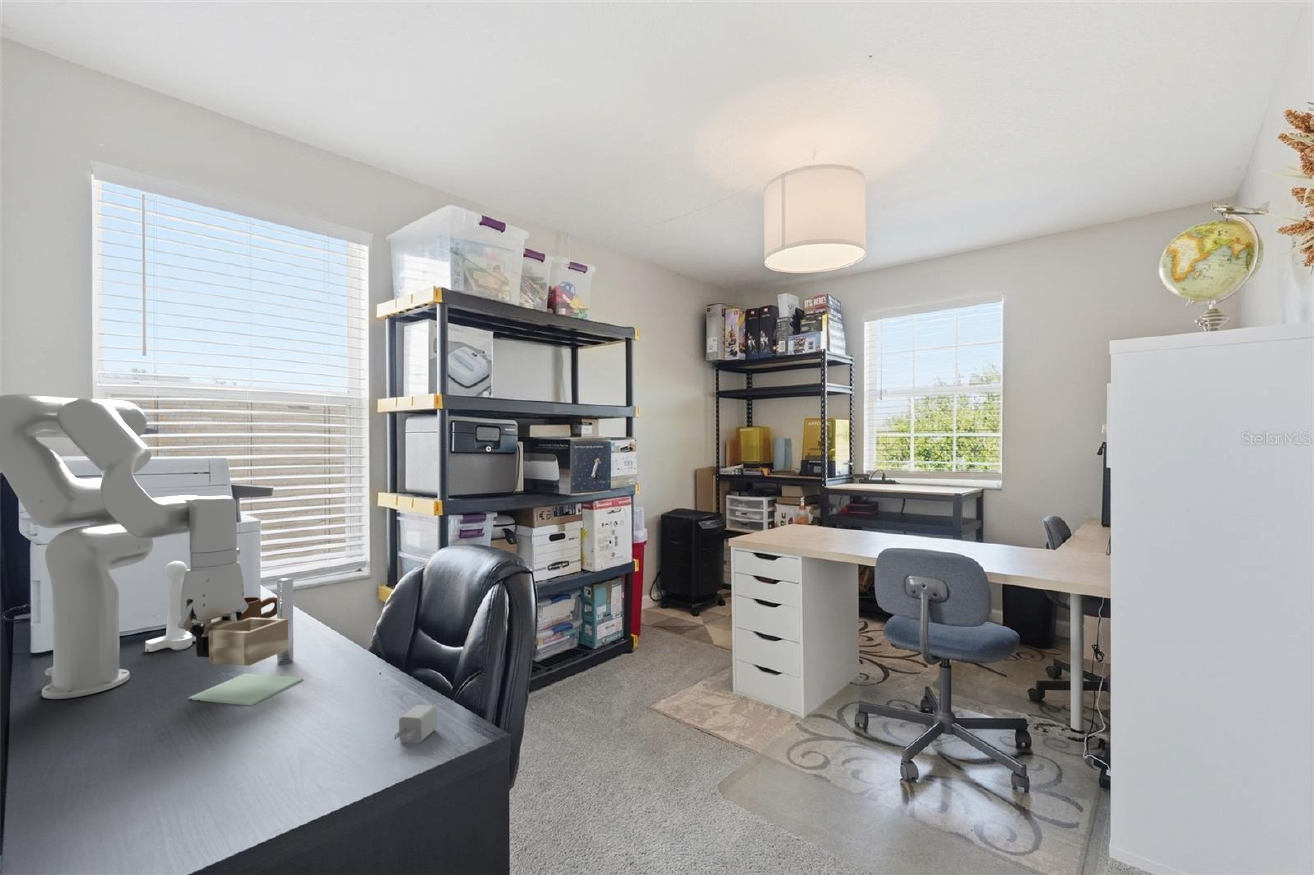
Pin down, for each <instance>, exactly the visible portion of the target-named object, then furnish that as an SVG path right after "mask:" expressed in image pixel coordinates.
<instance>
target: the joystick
mask: <svg viewBox="0 0 1314 875" xmlns="http://www.w3.org/2000/svg"><path fill="white" fill-rule="evenodd" d="M186 570H188V566H187V564H186V563H185V562H183V561H181V560H173V561H170V562H169V563H167V564H166V565H165V566H164V569H163V575H164V576H165V578H166V579H168V582H169V585H168V600H167V617H166V628H165V629H166V633H165V635H163V636H159V637H155V638H152V639H148V640H145V644H144V645H145V652H146V653H149V652H151V653H152V652H155V651H158V650H163V649H165V648H166V649H167V648H170V649H172V650H174V651H180V650H181V651H182V650H185V649H188V648H190V646H192V645H193V642H196V637H194V636H192V634H191V633H190V632H188V631H187V630H184V629H181V628H179V627H178V624H179V622H180V620H181V593H182V585H183V580H184V576H185V572H186Z"/></svg>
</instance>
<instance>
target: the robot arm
mask: <svg viewBox="0 0 1314 875" xmlns="http://www.w3.org/2000/svg"><path fill="white" fill-rule="evenodd" d="M147 422H148V421H147V417H146V414H145V413H144V412H143V410H142V409H141V408H140V407H138V405H136V404H134V403H132V402H130V401H125V400H120V399H119V400H116V399H106V398H105V399H102V398H93V397H92V398H91V397H90V398H79V397H71V396H70V397H69V396H53V395H42V394H27V393H14V394H4V395H0V473H2V474H3V476H4V477H5V479H6V481H7V482H8V484H9V486H10V487H11V489H12V490H13V492H14V494H15V495H16V497H17V499H18V501H20V503H21V505H22V506H23V508H24V510H25V511H26V513H27V514H28V515H29V517H30V519H31V520H32V521H33V522H34V524H36V525H38V526H39V527H42V528H44V529H61V528H62V529H63V528H70V529H68V530H64V531H61V532H60V533H58V534H57V535H55V536H54V537H53V538H52V539H51V540H50V541H49V542H48V543H47V546H46V548H45V552H44V557H45V563H46V567H47V568H46V569H47V571H48V574H49V578H50V583H51V590H52V591H51V592H52V613H53V614H52V616H53V618H52V620H53V622H52V623H53V624H52V629H53V633H52V634H53V638H52V639H53V643H52V644H53V645H52V646H53V650H52V651H53V652H52V654H53V656H52V658H53V660H52V661H53V666H51V667H48V668H47V669H45V670H44V675H46V676H51V683H49V684H47V685H45V686H44V687H43V688H42V689H41V697H42V698H44V699H49V700H62V699H65V700H66V699H73V698H80V697H84V696H89V695H93V694H97V693H101V692H105V691H107V690H110V689H113V688H114V689H115V688H117V687H118V686H121V685H123V684H124V683H126V682H127V681H128V680H129V679H130V675H131V674H130V671H129V670H128V669H124V668H120V593H119V588H118V585H117V584H116V582H115V580H114V578H113V577H112V576H111V575H110V572H109V571H111V570H114V569H120V568H124V567H128V566H132V565H135V564H137V563H140V562H142V561H144V560H145V559H147V557H149V555H150V554H151V552H152V551H153V550H152V549H153V547H154V546H153V545H154V539H157V538H163V537H168V536H173V535H174V536H175V535H180V534H186V533H189V569H188V568H187V570H186V572H185V576H184V577H183V579H182V593H181V620H180V622H179V624H178V627H179V628H181V629H184V630H186V631H188V632H190V633H191V634H192V636H194V637H196V641H195V656H196V655H197V656H198V657H197V658H208V657H209V631H210V626H211V621H212V620H216V619H217V618H219V620H229V621H238V620H239V619H240V617H241V616H242V614H243V613H244V612H245V611H246V610H247V609H248V607H249V605H248V604H247V602H246V601H245V600H244V598H245V585H244V577H243V571H242V567H241V563H240V562H239V561H238V556H239V555H240V553H241V550H240V549H239V548H238V535H237V534H238V532H237V531H238V530H237V529H238V528H237V526H238V525H237V503H236V499H235V498H234V497H232V495H231V496H229V495H210V496H208V495H207V496H199V495H191V494H184V495H171V496H163V497H162V496H161V497H153V498H152V497H151V496H150V495H149V494H148V492H146V491H145V489H144V488H142V486H141V485H140V484H139V483H138V481H137V479H136V478H135V474H137V472H139V471H141V470H142V469H143V468H145V466H147V464H148V463H149V462H150V461H151V458H152V452H151V449H150V448H149V447H148V446H147V444H145V442H143V440H141V438H140V437H141V435H143V434H144V433H145V431H146V429H147V427H148V426H147V424H148V423H147ZM37 438H66V439H67V438H69V439H70V441H71V442H72V443H73V444H74V445H75V446H76V447H77V448H78V449H79V451H80V452H82V454H83V455H85V457H86V458H87V459H88V460H89V461H90V462H91V463H92V464H93V466H94V467H95V468H96V469H97V470H98V471H99V472H100V473H101V475H102V476H101V478H99V477H98V478H97V477H95V478H77V477H75V475H74V474H73V473H72V472H71V471H70V470H69V468H68V467H67V466H66V464H65V462H64V461H63V459H62V458H61V456H59V454H57V452H55V451H54V450H52V449H51V448H50V447H49V446H46V445H45V444H44V443H42V442H40V441H39V440H38V439H37ZM77 526H78V527H77ZM71 527H73V528H71ZM227 616H228V617H227ZM201 624H203V627H202V628H201Z"/></svg>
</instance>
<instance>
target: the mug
mask: <svg viewBox="0 0 1314 875" xmlns="http://www.w3.org/2000/svg"><path fill="white" fill-rule="evenodd" d="M244 600H245V601H246V602H247V604H248V605H249V607H248V609H247V610H246V611H245V612H244V613H243V614H242V616H241V617H240V619H239V620H238V621H241V620H244V619H247V618H250V617H254V618H273V617H275V616H277V596H276V597H274V596H271V597H267V598H264V599H262V600H261V598H260V597H256V596H249V597H247V596H246V597H244ZM271 604H274V606H273V608H272V609H271V610H269V611H264V612H263V613H262V609H263V608H265V607H267V606H268V605H271ZM227 617H228V616H227Z"/></svg>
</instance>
